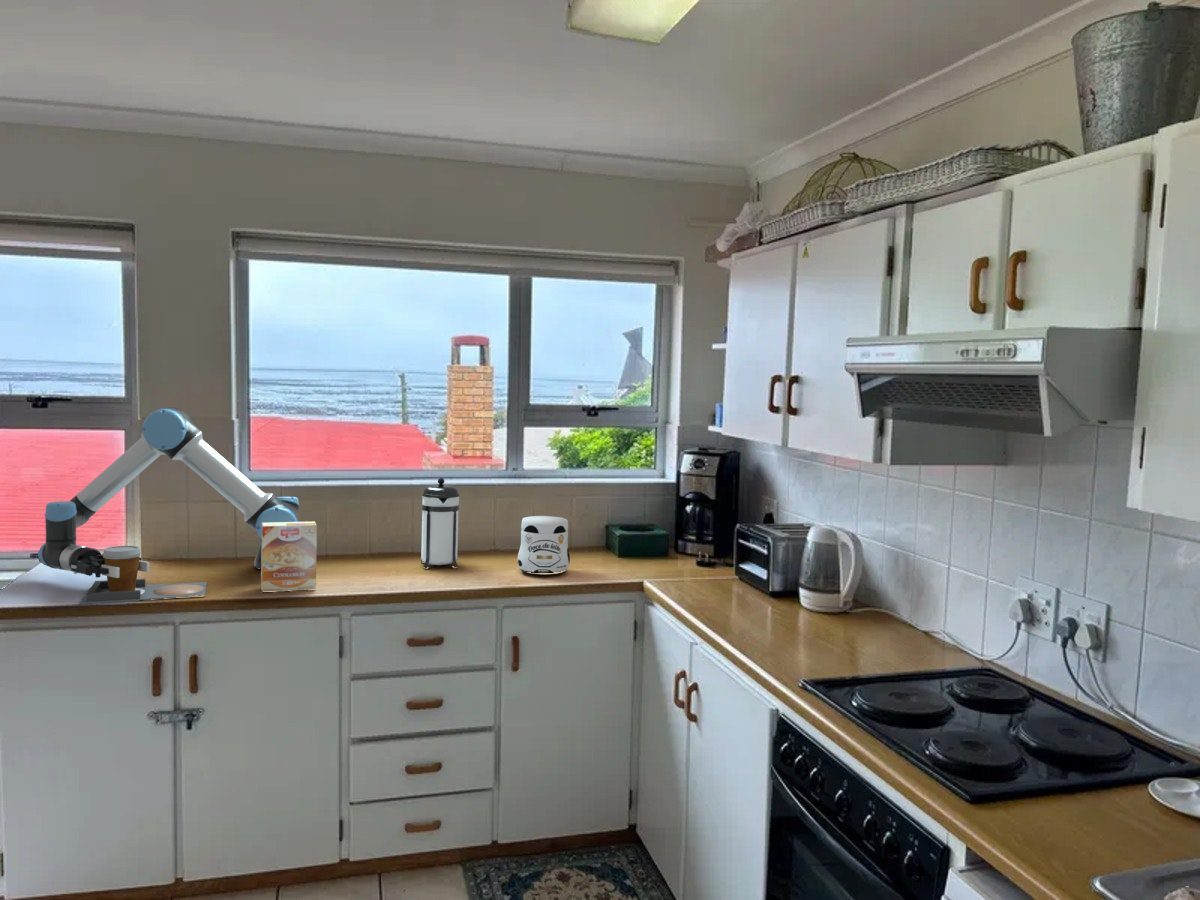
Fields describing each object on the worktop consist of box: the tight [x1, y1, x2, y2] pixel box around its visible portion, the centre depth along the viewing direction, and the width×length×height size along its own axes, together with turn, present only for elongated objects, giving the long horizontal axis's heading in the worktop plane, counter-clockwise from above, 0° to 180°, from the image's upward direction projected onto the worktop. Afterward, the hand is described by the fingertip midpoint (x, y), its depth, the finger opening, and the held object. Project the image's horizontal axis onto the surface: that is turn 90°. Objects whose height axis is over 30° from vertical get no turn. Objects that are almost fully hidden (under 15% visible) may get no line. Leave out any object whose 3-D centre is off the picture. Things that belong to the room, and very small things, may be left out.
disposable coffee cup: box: [101, 545, 143, 592], centre depth 234 cm, size 10×10×12 cm
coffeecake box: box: [260, 521, 318, 592], centre depth 248 cm, size 15×7×20 cm, turn 114°
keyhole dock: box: [79, 578, 208, 606], centre depth 237 cm, size 30×17×3 cm, turn 113°
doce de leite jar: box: [517, 515, 571, 573], centre depth 282 cm, size 17×17×18 cm
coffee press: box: [420, 477, 461, 568], centre depth 288 cm, size 17×16×30 cm
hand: (133, 569), depth 232 cm, fingers closed on disposable coffee cup, 8 cm apart
